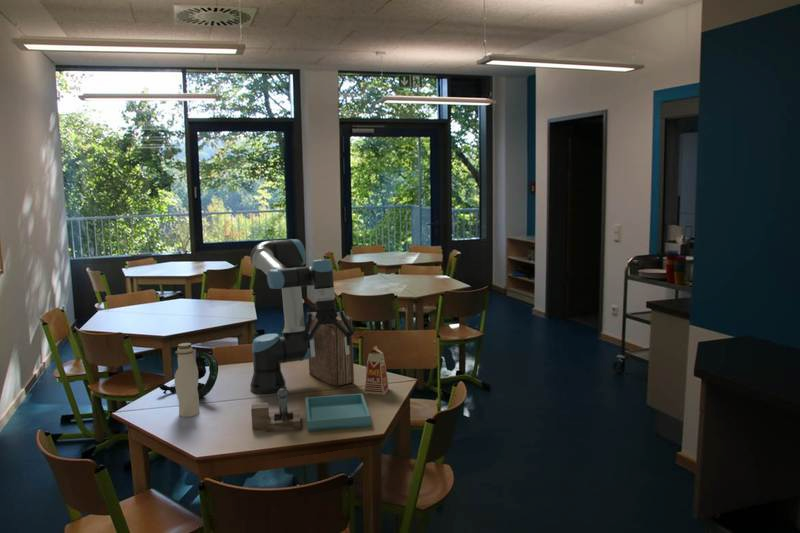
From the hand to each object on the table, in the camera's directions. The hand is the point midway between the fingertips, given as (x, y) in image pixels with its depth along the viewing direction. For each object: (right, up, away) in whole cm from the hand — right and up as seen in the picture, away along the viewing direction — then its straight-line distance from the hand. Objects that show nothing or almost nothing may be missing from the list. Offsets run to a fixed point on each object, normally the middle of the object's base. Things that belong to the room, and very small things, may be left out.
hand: (330, 355), depth 252 cm
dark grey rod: (-17, -25, -4) cm, 31 cm away
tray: (+2, -24, +3) cm, 24 cm away
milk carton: (+16, -20, +33) cm, 42 cm away
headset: (-62, -22, +30) cm, 72 cm away
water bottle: (-57, -24, +11) cm, 63 cm away
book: (-5, -18, +50) cm, 54 cm away
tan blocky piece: (-20, -25, -4) cm, 32 cm away
